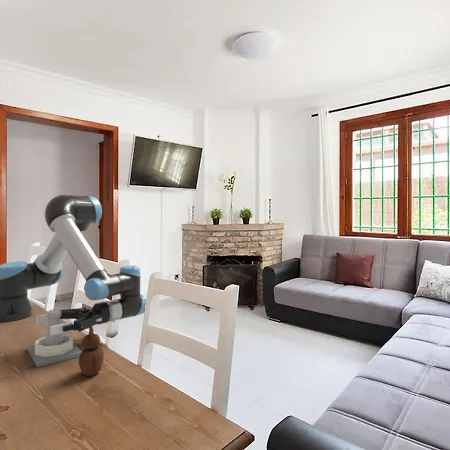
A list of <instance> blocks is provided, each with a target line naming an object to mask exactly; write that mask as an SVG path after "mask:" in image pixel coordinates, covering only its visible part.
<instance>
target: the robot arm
mask: <svg viewBox="0 0 450 450" xmlns="http://www.w3.org/2000/svg"><path fill="white" fill-rule="evenodd" d="M102 208H103V207H102V204H101V202H100V201H99V199H98V198H96V197H94V196H89V195H74V194H73V195H71V194H69V195H68V194H59V195H57V196H54V197H53V198H51V199H50V200H49V201H48V203H46V205H45V211H44V219H45V222H46V225H47V226H48V228H49V230H50V231H51V232H52V233H55V234H54V235H53V237H52V238H51V240H50V242H49V243H48V245H47V247H46V248H45V250H44V251H43V254H39V255H38V256H37V257H36V258H35V260H34V262H30V263H28V262H27V261H23V260H18V261H17V260H16V261H10V262H6V263H2V264H0V322H3V323H4V322H12V321H19V320H23V319H26V318H29V317H31V316H32V315H33V307H32V305H31V303H30V300H29V297H28V290H32V289H38V288H43V287H50V286H52V285H55V284H58V283H59V282H60V281H61V279H62V278H63V272H64V268H63V265H62V262H63V261H64V259H65V257H66V256H67V255H69V256H70V257H71V260H72V261H73V262H74V264H75V266H76V267H77V269H78V270H79V272H80V274H81V275H82V276H83V278H84V280H85V283H84V285H83V291H84V292H85V293H84V295H85V296H86V298H87V299H88V300H90V301H100V300H105V299H107V298H109V297H113V296H117V295H119V296H120V297H119V298H117V299H111V300H106V301H101V302H95V303H94V304H93V305H92V308H91V309H90V308H87V307H86V306H84V307H79V308H65V309H60V310H61V313H62V314H61V317H60V320H73V321H68V322H64V323H61V324H59V325H54V326H50V335H51V336H52V335H56V334H60V333H63V334H65V333H68V332H72V331H75V332H76V331H77V332H79V333H80V332H83V331H84V330H86V329H87V330H88V329H89V325H91V324H92V327H94V326H96V325H102V324H107V323H110V322H113V323H115V322H116V321H119V320H122V319H128V318H133V317H137V316H139V315H142V314H145V313H146V311H145V305H146V302H147V298H146V296H144V295H143V294H141V278H142V277H141V269H140V268H141V267H139V266H137V265H123V266H120V269H119V272H118V273H114V274H109V273H108V271H107V270H106V268H105V267H104V266H103V264H102V262H101V261H100V260H99V258H98V256H97V254H96V253H95V252H94V250H93V249H92V246H90V244H89V242H88V241H87V239H86V238H85V236H84V235H83V232H85V231H87V230H88V229H89V227H90V225H92V224H96V223H99V222H100V220H101V218H102V216H103V215H102V214H103V209H102ZM35 320H36V322H35V323H36V325H43V324H47V323H49V319H48V318H47V313H46V314H41V315H36V319H35Z"/></svg>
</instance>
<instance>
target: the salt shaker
mask: <svg viewBox="0 0 450 450" xmlns="http://www.w3.org/2000/svg"><path fill="white" fill-rule="evenodd" d="M61 310H62V309H55V308H53V309H49V310H48V311H47V313H46V314H47V318H48V319H49V322H47V323H48V324H47V329H46V335H45V336H46V338H45V343H44V344H45V346H53V345H59V344H62V343H64V336H63V334H64V333H60V334H56V335H52V336H51V335H50V326H54V325H59V324H62V322H61V319H60V317H61V314H62V313H61Z"/></svg>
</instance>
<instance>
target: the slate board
mask: <svg viewBox="0 0 450 450" xmlns="http://www.w3.org/2000/svg"><path fill="white" fill-rule="evenodd" d="M26 347H27V351H28V353H29V356H30V358H31V359H32V361H33V362H34V365H35V366H36V368H40V367H45V366H48V365H51V364H56V363H59V362H64V361H68V360H72V359H77V358H79V356H80V354H81V352H82V351H83V350H81V349H80V348H79V347H78V346H77V345H76V343H74V342H73V349H72V350H70V351H68V352H66V353H64V354H62V355H56V356H50V357H43V356H38V355H35V344H32V345H28V346H26Z"/></svg>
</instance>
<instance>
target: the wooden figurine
mask: <svg viewBox="0 0 450 450" xmlns="http://www.w3.org/2000/svg"><path fill="white" fill-rule="evenodd" d="M100 345H101V338H100V335H99V334H97V333H94V328H93V326H92V324H91V325H89V328H88V334H87V335H85V336H84V337H83V339H82V347H83V350H81V351H82V352H81V354H80V356H79V357H78V366H79V369H80V371H81V373H82V375H84V376H86V377H92V376H93V377H94V376H96V375H97V374H98V373H100V371H101V369H102V367H103V364H104V358H105V356H104V350H103V348H102V347H101V346H100Z"/></svg>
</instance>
